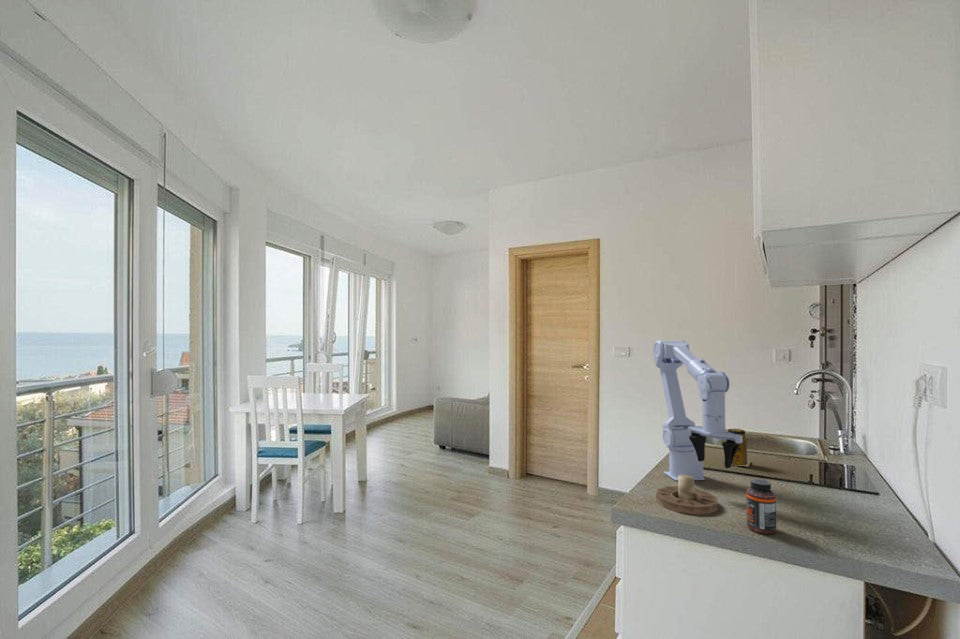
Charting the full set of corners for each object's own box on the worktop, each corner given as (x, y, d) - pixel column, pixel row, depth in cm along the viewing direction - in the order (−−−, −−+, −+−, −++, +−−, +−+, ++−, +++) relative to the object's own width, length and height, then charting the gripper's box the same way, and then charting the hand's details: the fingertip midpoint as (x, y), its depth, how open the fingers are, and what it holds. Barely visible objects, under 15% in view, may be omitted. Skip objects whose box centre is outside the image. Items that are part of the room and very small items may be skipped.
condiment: (724, 464, 157) (723, 430, 157) (728, 459, 163) (728, 426, 164) (748, 468, 152) (747, 433, 152) (752, 462, 159) (751, 428, 159)
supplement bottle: (741, 523, 109) (740, 476, 109) (766, 524, 109) (765, 477, 109) (755, 535, 103) (755, 485, 103) (782, 535, 103) (781, 485, 103)
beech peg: (689, 499, 124) (689, 474, 125) (697, 505, 120) (697, 479, 121) (675, 500, 124) (675, 474, 124) (683, 506, 120) (682, 479, 120)
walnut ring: (697, 492, 130) (697, 485, 130) (730, 513, 115) (729, 505, 115) (647, 493, 129) (647, 486, 129) (673, 515, 114) (673, 507, 114)
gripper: (681, 412, 130) (682, 460, 130) (732, 421, 118) (733, 473, 118) (695, 410, 134) (695, 456, 134) (746, 418, 122) (747, 468, 122)
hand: (714, 464), depth 126 cm, fingers open, 7 cm apart
